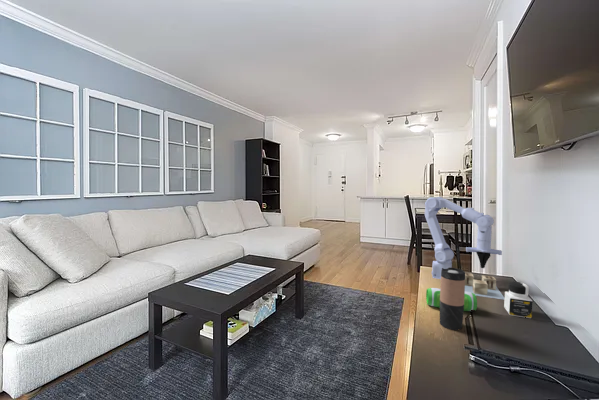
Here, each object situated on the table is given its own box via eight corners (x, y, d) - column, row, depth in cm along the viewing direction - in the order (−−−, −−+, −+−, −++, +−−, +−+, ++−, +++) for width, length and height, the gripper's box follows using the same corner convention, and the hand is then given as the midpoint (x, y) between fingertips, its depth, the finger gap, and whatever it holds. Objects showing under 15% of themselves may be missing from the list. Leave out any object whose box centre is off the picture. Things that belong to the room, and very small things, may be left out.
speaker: (427, 308, 115) (428, 290, 114) (425, 301, 122) (426, 284, 121) (477, 315, 110) (478, 296, 109) (471, 307, 117) (472, 289, 116)
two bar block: (483, 288, 136) (483, 278, 136) (481, 285, 141) (481, 275, 140) (495, 290, 134) (496, 279, 134) (493, 286, 139) (493, 276, 138)
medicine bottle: (509, 315, 110) (510, 285, 109) (503, 307, 116) (505, 279, 115) (531, 318, 107) (533, 287, 106) (524, 311, 114) (526, 281, 113)
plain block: (474, 293, 130) (474, 282, 129) (472, 289, 134) (473, 279, 134) (487, 295, 128) (487, 284, 127) (484, 291, 132) (485, 280, 132)
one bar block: (461, 285, 140) (462, 274, 140) (460, 281, 145) (460, 271, 145) (473, 286, 138) (473, 276, 138) (471, 283, 143) (472, 273, 143)
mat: (463, 294, 129) (463, 293, 129) (458, 281, 148) (458, 280, 148) (505, 301, 123) (506, 299, 123) (495, 286, 141) (495, 284, 141)
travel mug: (462, 332, 96) (465, 275, 95) (437, 326, 100) (440, 271, 99) (463, 323, 103) (465, 269, 101) (440, 318, 107) (442, 266, 105)
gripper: (467, 240, 136) (466, 267, 137) (504, 243, 130) (502, 272, 131) (466, 237, 143) (464, 264, 144) (500, 240, 137) (499, 267, 138)
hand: (482, 267), depth 138 cm, fingers closed
